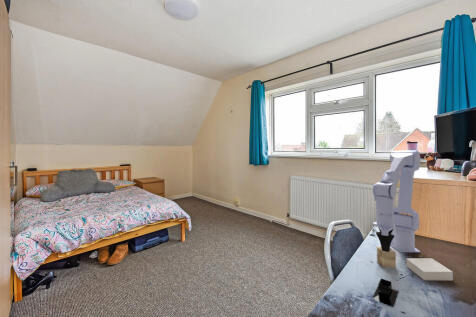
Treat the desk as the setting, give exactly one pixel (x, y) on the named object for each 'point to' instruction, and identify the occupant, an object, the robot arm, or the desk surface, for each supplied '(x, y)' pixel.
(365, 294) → the desk surface
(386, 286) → the black mounting plate
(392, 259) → the oak block
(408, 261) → the base
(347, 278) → the desk surface
